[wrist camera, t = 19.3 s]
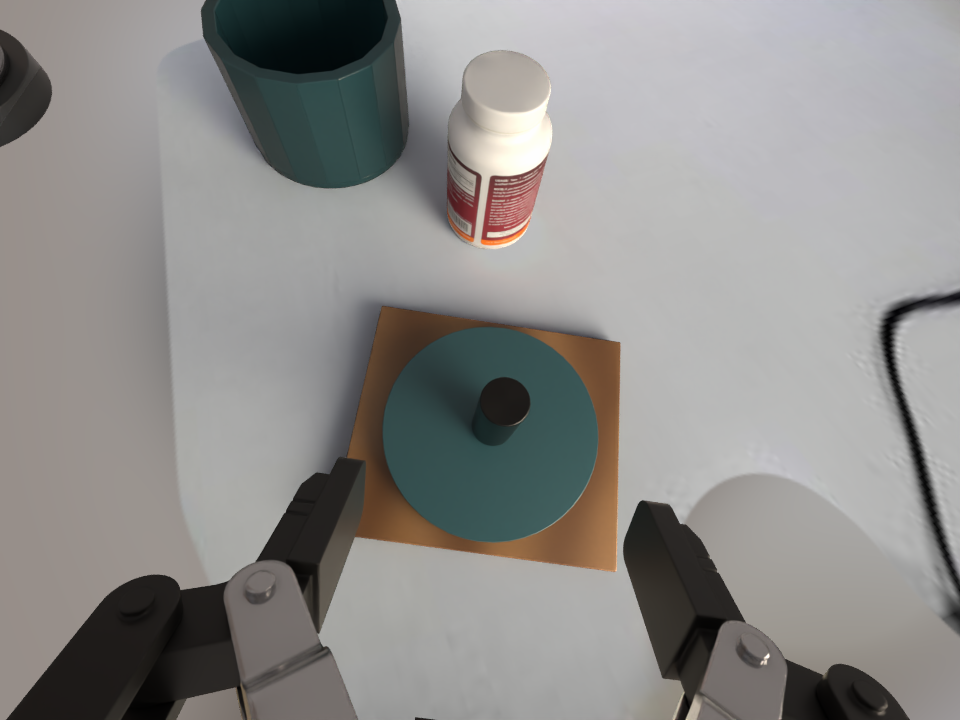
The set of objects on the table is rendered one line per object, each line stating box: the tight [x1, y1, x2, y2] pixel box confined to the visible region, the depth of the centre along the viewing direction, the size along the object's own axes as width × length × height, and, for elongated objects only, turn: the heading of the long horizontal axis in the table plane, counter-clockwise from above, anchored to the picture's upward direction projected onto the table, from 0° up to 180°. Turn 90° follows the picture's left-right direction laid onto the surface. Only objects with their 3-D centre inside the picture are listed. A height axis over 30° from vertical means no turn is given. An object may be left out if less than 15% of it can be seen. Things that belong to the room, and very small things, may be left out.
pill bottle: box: [447, 50, 552, 249], centre depth 28 cm, size 6×6×11 cm
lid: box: [382, 327, 598, 543], centre depth 24 cm, size 13×13×7 cm
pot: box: [201, 0, 409, 188], centre depth 31 cm, size 12×12×8 cm
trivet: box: [347, 306, 620, 572], centre depth 27 cm, size 16×14×1 cm
